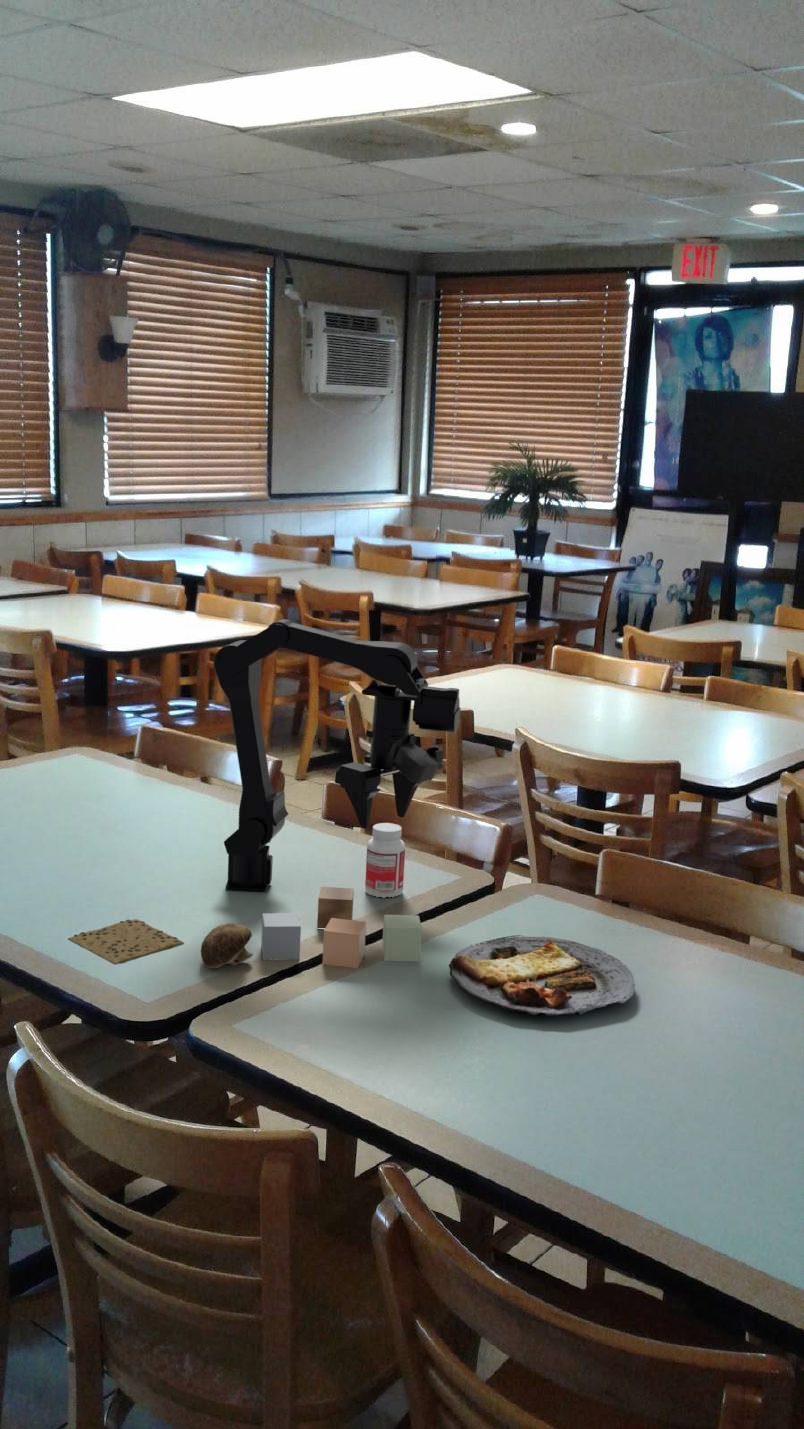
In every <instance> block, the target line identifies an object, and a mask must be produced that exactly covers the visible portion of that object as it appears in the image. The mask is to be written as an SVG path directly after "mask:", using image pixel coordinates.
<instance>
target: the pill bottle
mask: <svg viewBox="0 0 804 1429" xmlns="http://www.w3.org/2000/svg"><path fill="white" fill-rule="evenodd" d="M402 828H403V827H402V826H401V825H400V824H397V823H396V824H395V823H392V822H391V823H390V822H381V823H380V822H379V823H376V824H374V825H373V826H372V837H371V838H370V839H369V840H368V842H367V844H366V859H365V861H366V862H365V881H364V882H365V884H364V890H365V892H366V894H367V895H370V896H371V895H372V896H371V897H374V896H376V897H375V898H378V897H382V898H381V899H387V898H386V897H389V898H388V899H391V898H390V897H392V898H396V897H398V895H399V896H400V895H402V894H403V891H404V880H405V879H404V877H405V861H406V860H405V858H406V844H405V842H404V841H403V840H402V839H401V838H402V834H403V833H402V830H403V829H402ZM395 896H396V897H395Z"/></svg>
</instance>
